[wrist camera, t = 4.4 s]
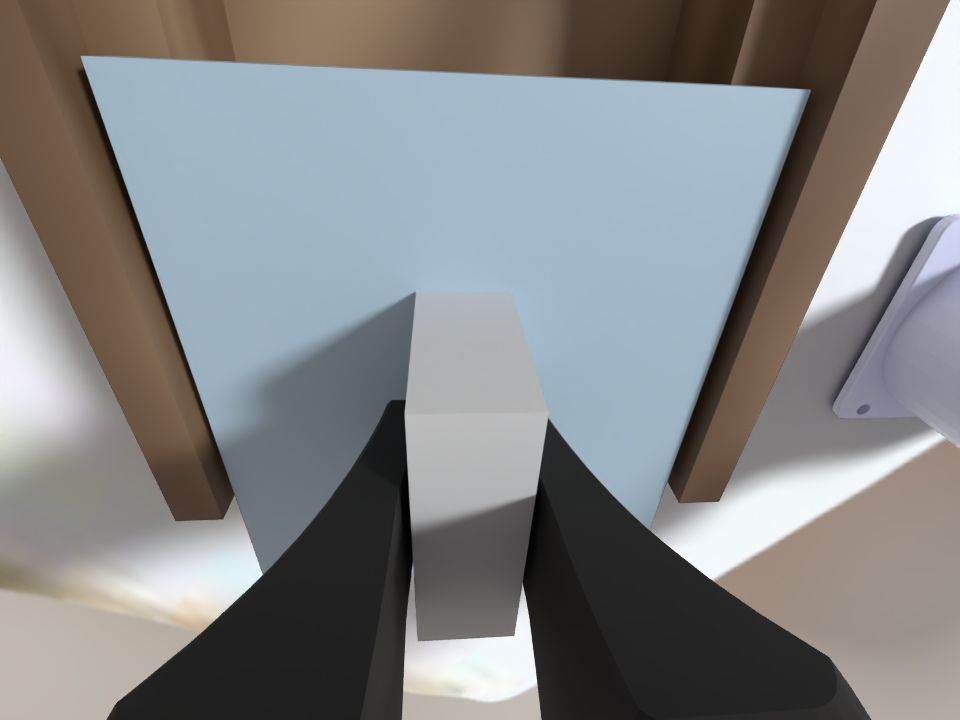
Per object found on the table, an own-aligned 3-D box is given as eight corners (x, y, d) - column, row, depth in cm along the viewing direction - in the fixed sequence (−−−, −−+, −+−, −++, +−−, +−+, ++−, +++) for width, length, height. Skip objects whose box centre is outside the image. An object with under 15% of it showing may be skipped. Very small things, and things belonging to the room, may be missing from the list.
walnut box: (839, -255, 9) (1194, -530, 5) (651, 393, 18) (718, 501, 14) (24, -339, 8) (-461, -800, 4) (244, 399, 17) (175, 521, 12)
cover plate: (782, 87, 9) (1066, 113, 5) (628, 543, 16) (690, 702, 12) (110, 55, 8) (-230, 55, 4) (272, 558, 15) (214, 736, 11)
